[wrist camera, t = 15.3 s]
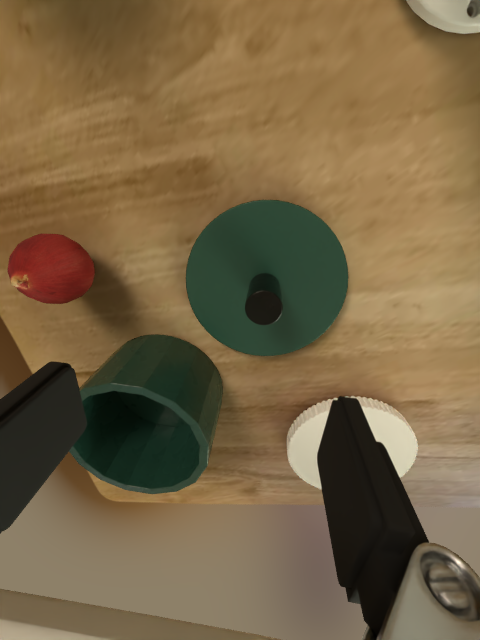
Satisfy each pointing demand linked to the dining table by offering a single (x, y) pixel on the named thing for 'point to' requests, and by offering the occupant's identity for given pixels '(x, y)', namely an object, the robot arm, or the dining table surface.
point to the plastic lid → (382, 422)
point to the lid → (267, 277)
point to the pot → (150, 415)
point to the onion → (51, 269)
